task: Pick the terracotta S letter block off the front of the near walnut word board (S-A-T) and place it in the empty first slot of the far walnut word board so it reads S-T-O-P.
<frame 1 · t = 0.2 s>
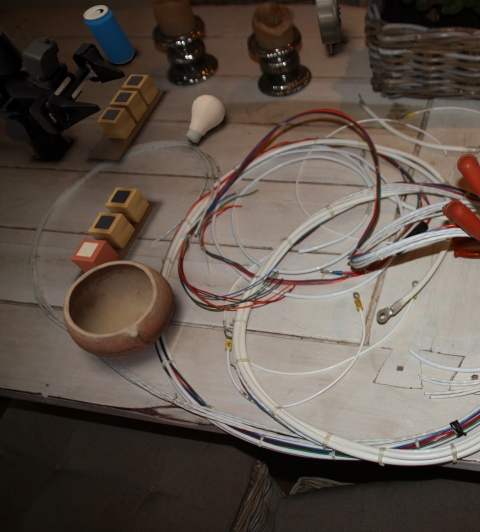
hand: (111, 90, 98), 17 cm above the table, tool horizontal, fingers open, 9 cm apart
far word: (129, 124, 119), on the table
bowl: (138, 324, 89), on the table
beverage can: (123, 58, 134), on the table
letter S: (102, 264, 96), point 1 cm above the table, touching near word
light bulb: (208, 129, 115), on the table
near word: (120, 239, 100), on the table
alarm clock: (335, 43, 128), on the table
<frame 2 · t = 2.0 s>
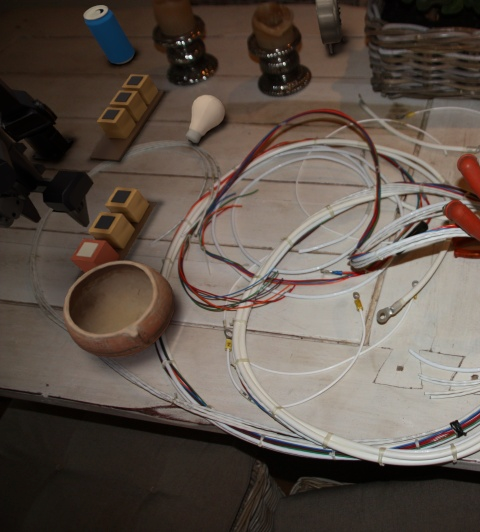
hand: (62, 222, 87), 12 cm above the table, tool pointing down, fingers open, 9 cm apart
nothing on the table moved.
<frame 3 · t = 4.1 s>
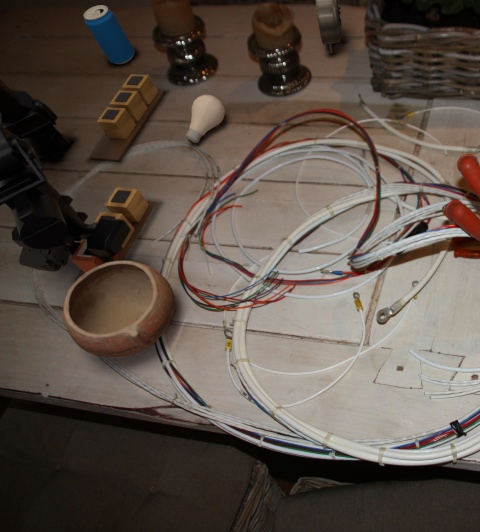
hand: (100, 261, 96), 2 cm above the table, tool pointing down, fingers closed on letter S, 4 cm apart
letter S: (103, 264, 96), point 1 cm above the table, touching gripper, near word
everything else where it was.
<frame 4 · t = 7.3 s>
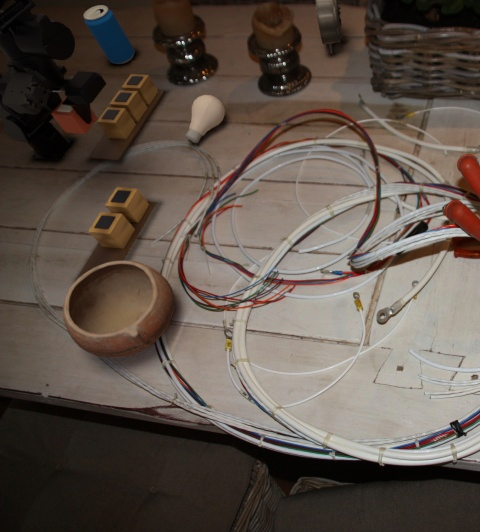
hand: (79, 121, 104), 11 cm above the table, tool pointing down, fingers closed on letter S, 4 cm apart
letter S: (82, 125, 104), point 10 cm above the table, touching gripper
everything else where it was.
when the fingers open (1 cm above the table, at t = 10.7 s): letter S stays where it is, resting on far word.
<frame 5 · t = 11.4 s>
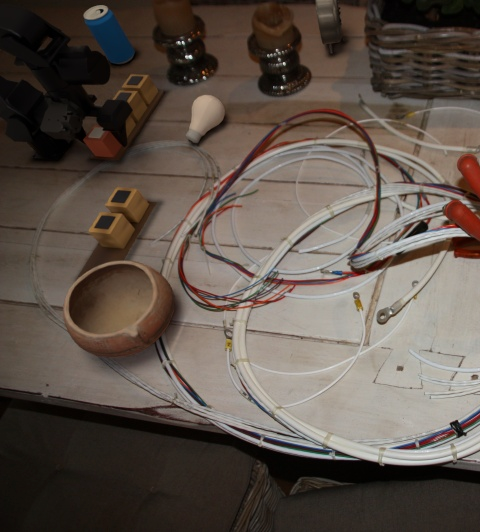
hand: (106, 144, 113), 2 cm above the table, tool pointing down, fingers open, 9 cm apart
letter S: (110, 149, 114), point 1 cm above the table, touching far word
everything else where it was.
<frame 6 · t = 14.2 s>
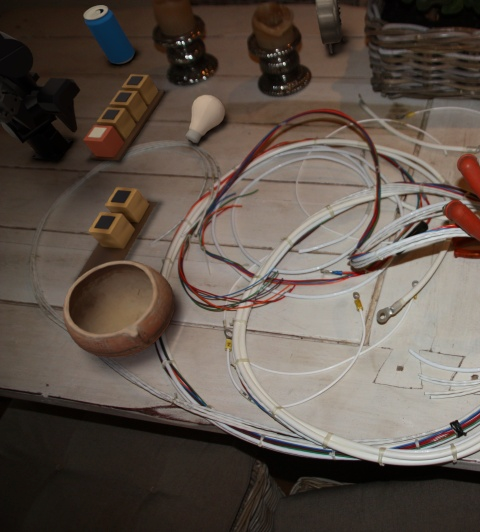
hand: (54, 129, 101), 12 cm above the table, tool pointing down, fingers open, 9 cm apart
nothing on the table moved.
at the end: letter S 0.1 cm from the target spot on the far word, point 0.6 cm above the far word's base; letter S tilted 0° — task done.
